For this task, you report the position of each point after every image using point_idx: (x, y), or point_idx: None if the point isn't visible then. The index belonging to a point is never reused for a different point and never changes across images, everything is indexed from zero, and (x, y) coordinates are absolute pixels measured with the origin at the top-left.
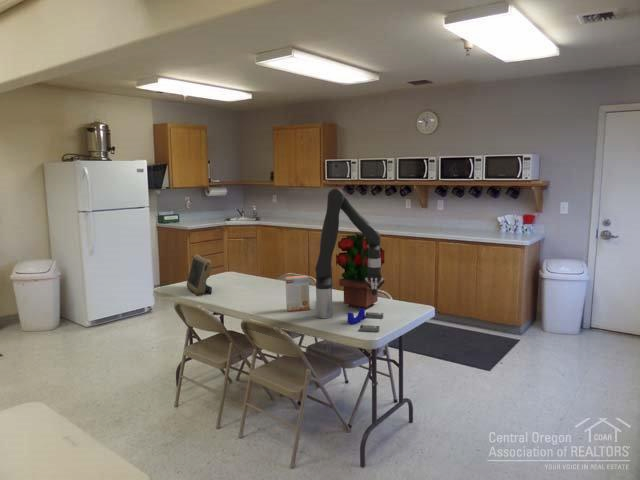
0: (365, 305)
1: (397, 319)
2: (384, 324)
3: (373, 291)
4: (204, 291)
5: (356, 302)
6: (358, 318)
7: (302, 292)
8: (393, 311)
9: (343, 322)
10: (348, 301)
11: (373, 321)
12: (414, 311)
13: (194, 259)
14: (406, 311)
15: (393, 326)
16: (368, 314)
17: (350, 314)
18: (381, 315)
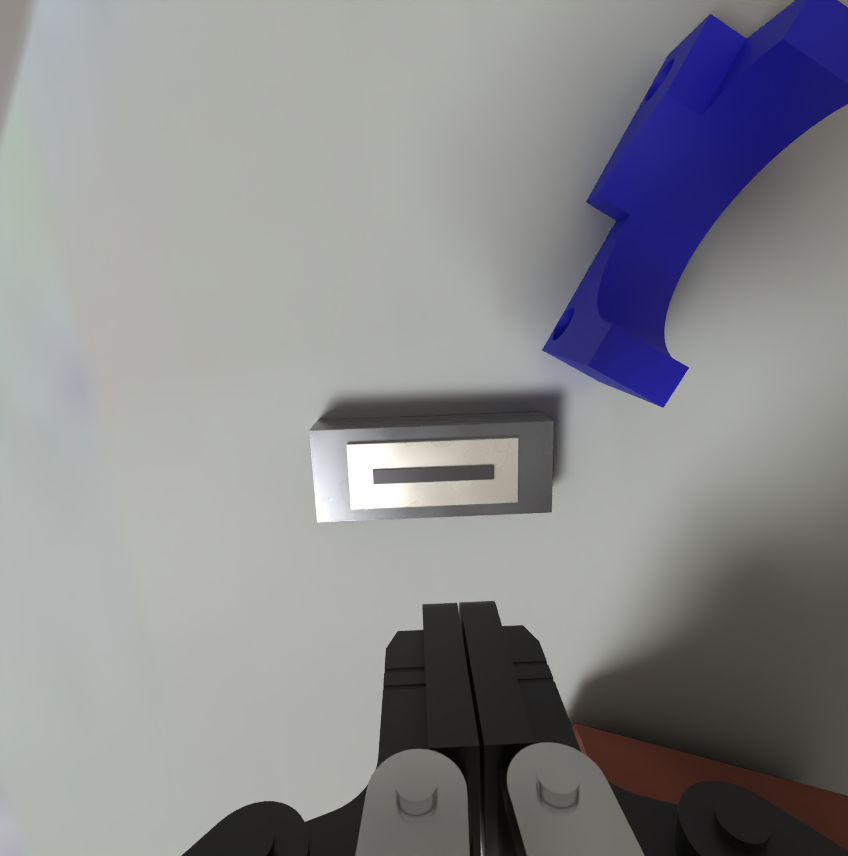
0: (590, 743)
1: (126, 414)
2: (248, 155)
3: (493, 677)
4: None
5: None
6: (633, 247)
7: None
8: (243, 709)
9: (819, 139)
10: (830, 820)
11: (417, 267)
12: (7, 751)
13: None
14: (96, 735)
15: (105, 81)
16: (510, 423)
17: (827, 8)
18: (329, 429)
